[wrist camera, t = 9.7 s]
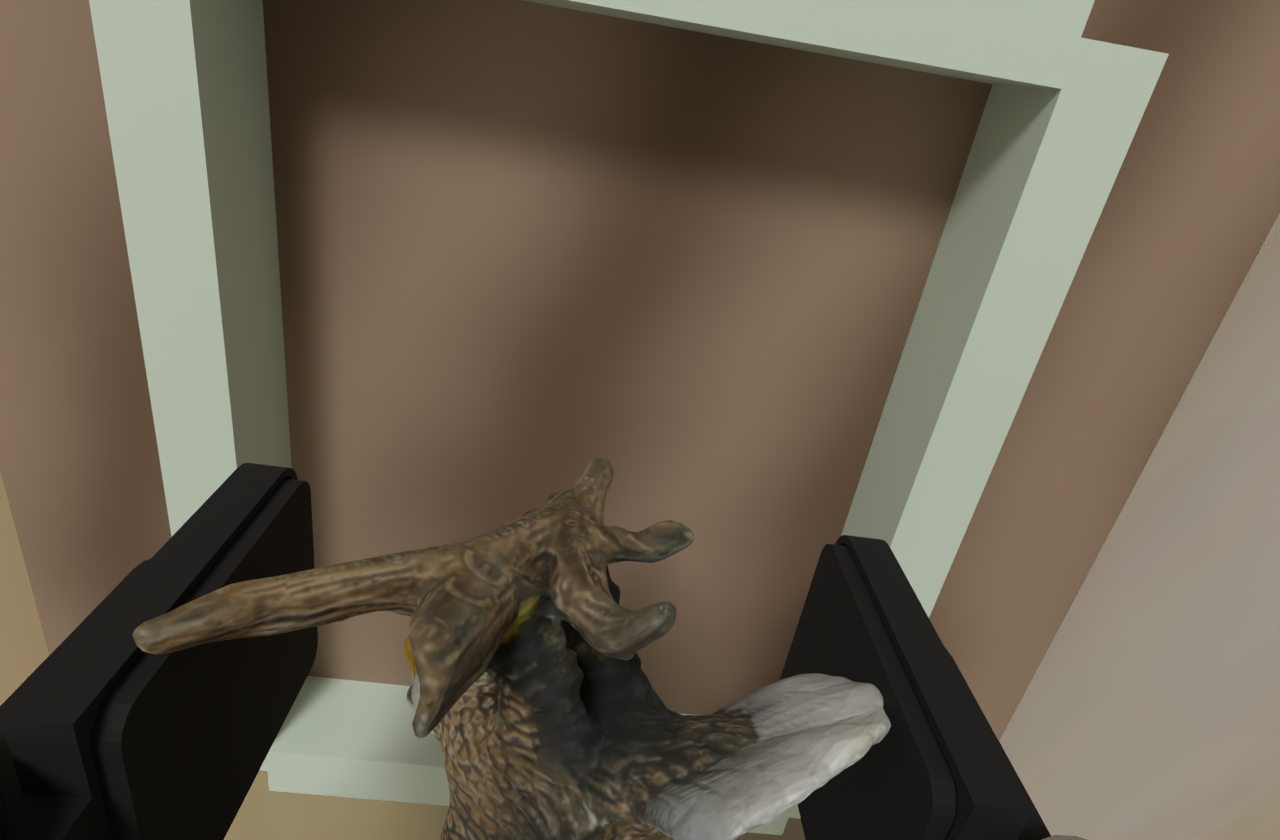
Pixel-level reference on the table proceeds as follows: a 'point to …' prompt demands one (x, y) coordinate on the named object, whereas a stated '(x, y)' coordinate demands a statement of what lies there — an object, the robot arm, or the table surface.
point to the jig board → (619, 300)
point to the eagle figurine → (559, 682)
